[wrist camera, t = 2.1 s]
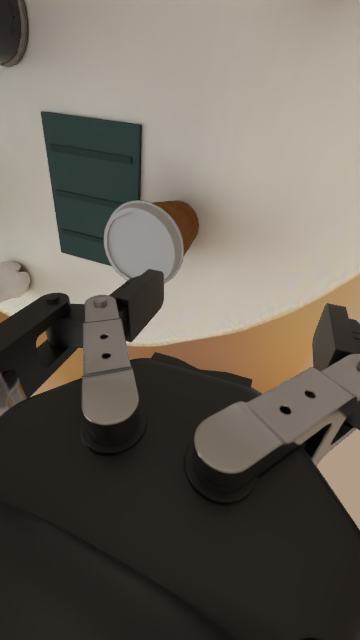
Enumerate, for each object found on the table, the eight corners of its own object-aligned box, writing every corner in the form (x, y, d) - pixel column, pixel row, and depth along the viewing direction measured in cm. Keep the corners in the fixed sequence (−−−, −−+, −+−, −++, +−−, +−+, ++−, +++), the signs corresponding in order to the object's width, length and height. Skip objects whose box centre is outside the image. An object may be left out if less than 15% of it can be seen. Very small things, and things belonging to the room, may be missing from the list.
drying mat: (63, 251, 49) (60, 252, 48) (43, 111, 37) (38, 111, 37) (138, 271, 45) (136, 273, 45) (141, 124, 34) (138, 124, 33)
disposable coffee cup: (215, 193, 35) (183, 211, 26) (204, 263, 40) (175, 299, 31) (148, 182, 37) (96, 195, 28) (146, 249, 43) (102, 279, 33)
